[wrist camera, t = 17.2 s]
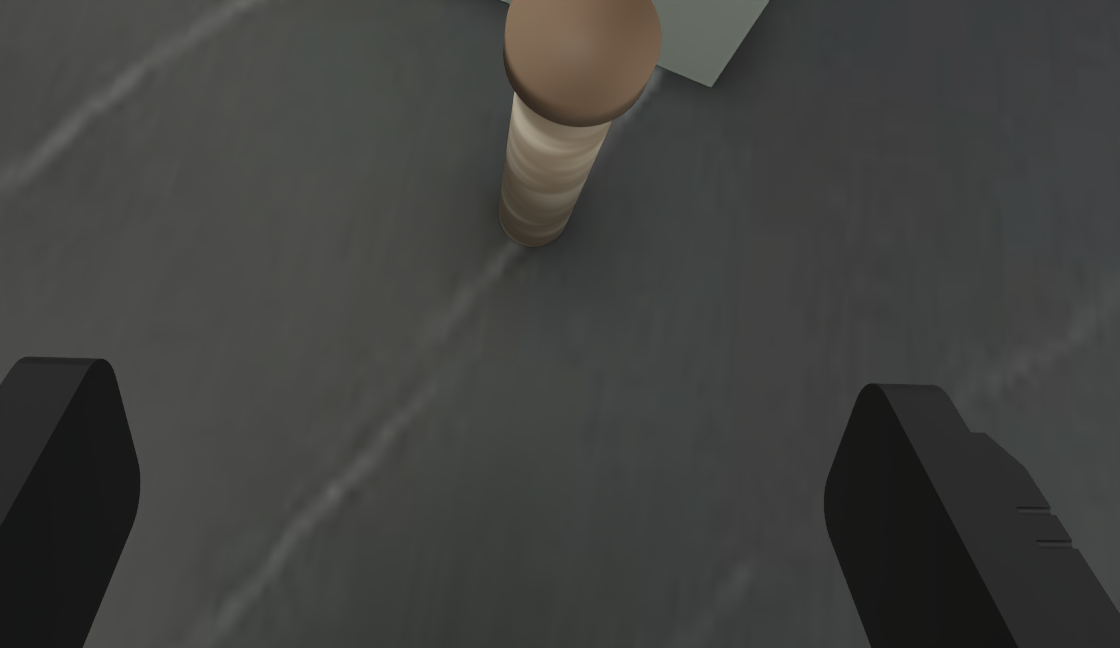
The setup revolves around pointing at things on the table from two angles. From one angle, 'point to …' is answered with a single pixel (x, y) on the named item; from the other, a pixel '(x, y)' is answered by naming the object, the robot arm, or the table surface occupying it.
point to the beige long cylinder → (567, 101)
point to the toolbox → (702, 34)
